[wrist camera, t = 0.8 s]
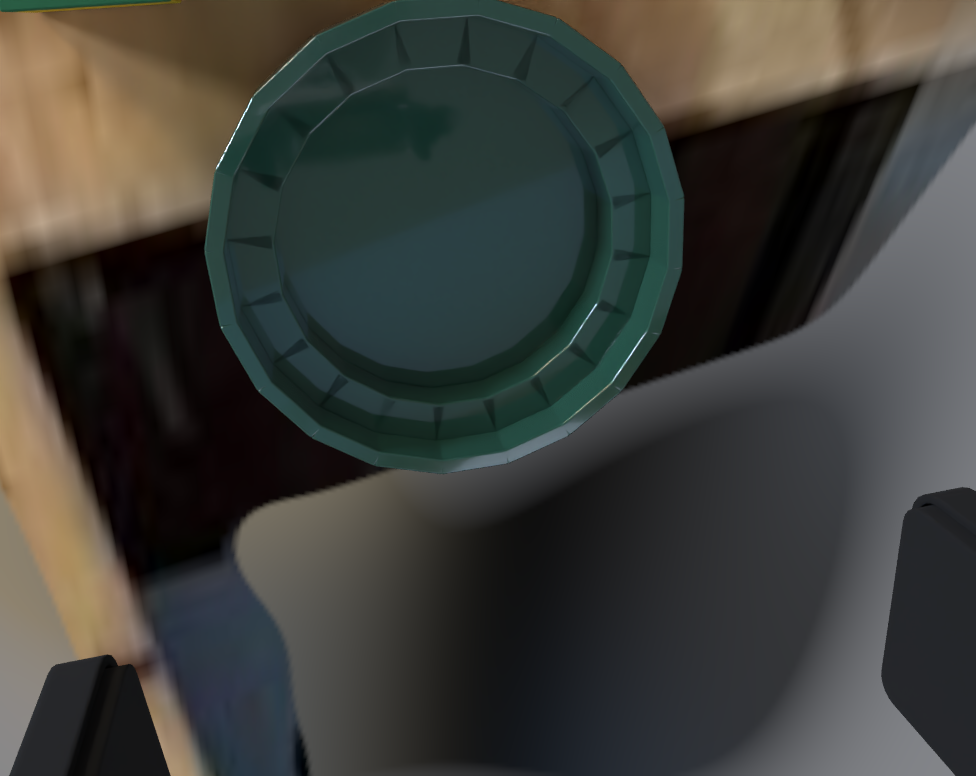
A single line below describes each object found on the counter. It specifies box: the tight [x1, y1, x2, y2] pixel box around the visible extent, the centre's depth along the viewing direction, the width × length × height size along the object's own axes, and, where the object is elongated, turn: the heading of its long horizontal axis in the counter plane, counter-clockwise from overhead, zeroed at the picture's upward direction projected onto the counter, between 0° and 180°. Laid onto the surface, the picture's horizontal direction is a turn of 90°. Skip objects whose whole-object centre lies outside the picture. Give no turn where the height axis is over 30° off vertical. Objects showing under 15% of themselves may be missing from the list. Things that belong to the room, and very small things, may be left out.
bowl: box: [204, 0, 684, 474], centre depth 30 cm, size 16×16×4 cm
